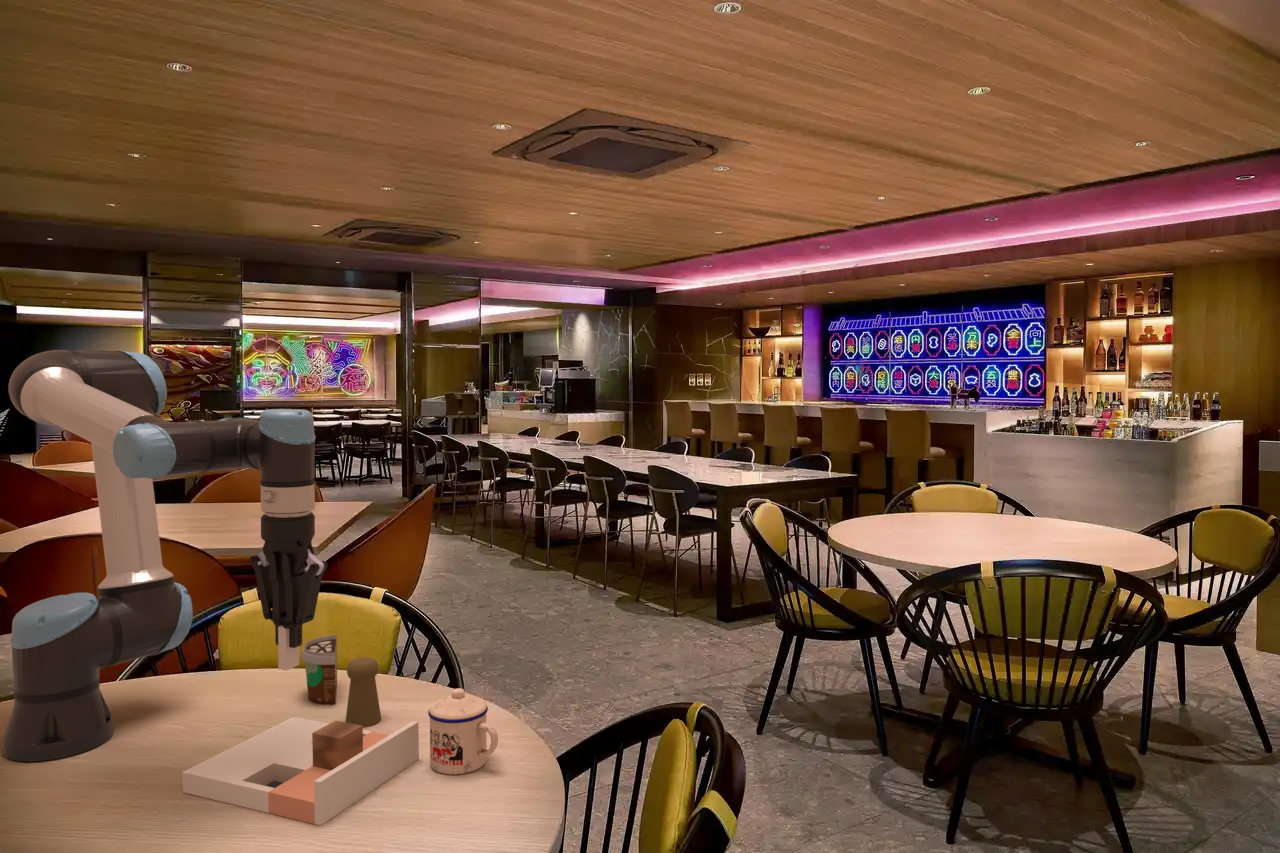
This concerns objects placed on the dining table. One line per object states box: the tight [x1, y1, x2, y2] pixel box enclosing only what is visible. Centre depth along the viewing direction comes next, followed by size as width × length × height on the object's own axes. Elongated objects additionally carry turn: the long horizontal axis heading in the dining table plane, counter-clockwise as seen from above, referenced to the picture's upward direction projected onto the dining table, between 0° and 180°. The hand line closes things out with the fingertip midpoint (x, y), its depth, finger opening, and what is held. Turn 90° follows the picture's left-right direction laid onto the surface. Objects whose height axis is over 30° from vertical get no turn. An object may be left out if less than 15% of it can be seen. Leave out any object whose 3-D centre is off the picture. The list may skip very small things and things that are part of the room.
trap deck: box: [181, 716, 420, 827], centre depth 133 cm, size 25×22×6 cm
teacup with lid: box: [427, 687, 499, 775], centre depth 136 cm, size 12×9×12 cm
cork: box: [345, 656, 382, 728], centre depth 153 cm, size 6×6×11 cm
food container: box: [300, 634, 338, 706], centre depth 164 cm, size 12×6×10 cm, turn 17°
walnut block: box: [312, 720, 364, 770], centre depth 130 cm, size 5×5×5 cm
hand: (289, 666), depth 133 cm, fingers closed
